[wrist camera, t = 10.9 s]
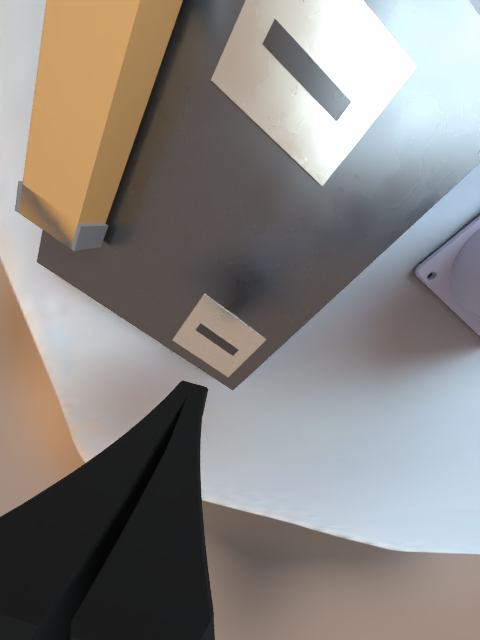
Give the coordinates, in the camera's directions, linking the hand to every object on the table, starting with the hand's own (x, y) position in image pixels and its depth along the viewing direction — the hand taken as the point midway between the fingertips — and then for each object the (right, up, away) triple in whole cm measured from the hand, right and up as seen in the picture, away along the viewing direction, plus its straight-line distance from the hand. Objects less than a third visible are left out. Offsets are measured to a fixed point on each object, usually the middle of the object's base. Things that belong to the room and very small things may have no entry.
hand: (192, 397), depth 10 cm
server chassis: (+1, +12, +3) cm, 12 cm away
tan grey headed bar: (-4, +15, -1) cm, 15 cm away
